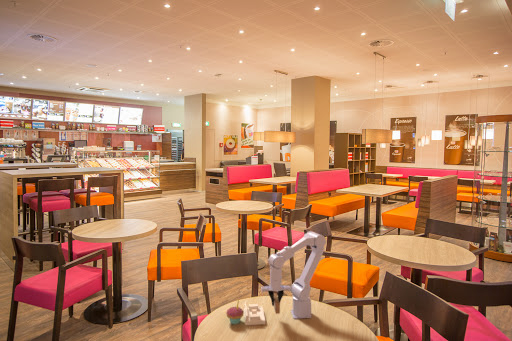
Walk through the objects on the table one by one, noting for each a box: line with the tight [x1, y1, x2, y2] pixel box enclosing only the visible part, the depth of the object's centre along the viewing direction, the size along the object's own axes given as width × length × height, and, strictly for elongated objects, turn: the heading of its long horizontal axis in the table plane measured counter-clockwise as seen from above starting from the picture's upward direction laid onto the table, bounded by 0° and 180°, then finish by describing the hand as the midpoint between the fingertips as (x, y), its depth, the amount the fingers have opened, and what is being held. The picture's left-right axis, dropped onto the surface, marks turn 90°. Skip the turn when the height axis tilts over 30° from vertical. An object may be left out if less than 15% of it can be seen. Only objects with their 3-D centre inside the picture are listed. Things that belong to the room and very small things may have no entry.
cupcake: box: [225, 299, 244, 325], centre depth 157 cm, size 9×8×12 cm
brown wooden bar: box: [273, 292, 281, 315], centre depth 158 cm, size 2×11×5 cm, turn 5°
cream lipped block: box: [243, 302, 266, 326], centre depth 161 cm, size 10×13×5 cm
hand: (275, 304), depth 158 cm, fingers closed on brown wooden bar, 2 cm apart
